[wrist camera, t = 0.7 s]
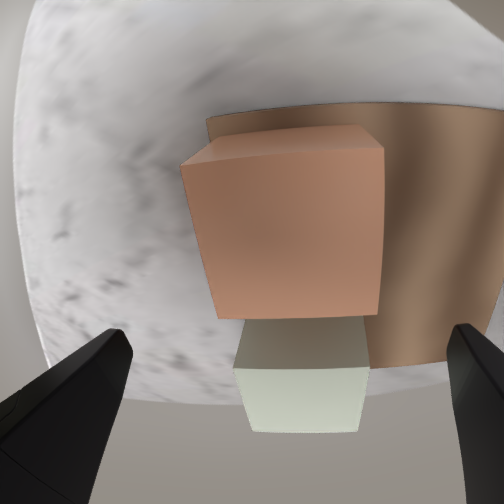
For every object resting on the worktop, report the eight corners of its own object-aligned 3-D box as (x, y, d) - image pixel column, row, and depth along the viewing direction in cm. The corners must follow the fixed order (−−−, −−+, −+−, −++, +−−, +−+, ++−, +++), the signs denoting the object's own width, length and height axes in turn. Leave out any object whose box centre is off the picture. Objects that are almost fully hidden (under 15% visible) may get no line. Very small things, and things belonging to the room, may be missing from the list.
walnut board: (518, 113, 12) (528, 115, 12) (471, 347, 21) (475, 356, 21) (211, 117, 16) (206, 119, 15) (259, 361, 25) (257, 371, 24)
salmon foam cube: (358, 124, 14) (383, 148, 10) (362, 249, 18) (377, 314, 13) (218, 136, 16) (179, 165, 11) (241, 255, 19) (218, 318, 14)
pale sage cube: (360, 298, 19) (370, 366, 15) (354, 369, 23) (357, 431, 18) (250, 302, 21) (232, 368, 16) (263, 371, 24) (252, 430, 20)
